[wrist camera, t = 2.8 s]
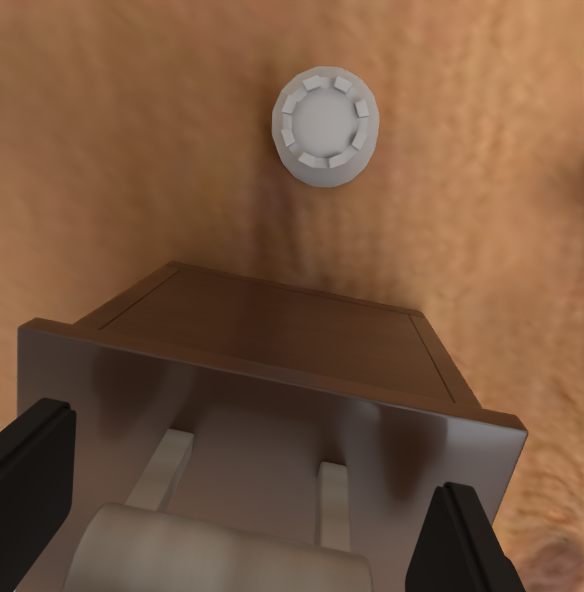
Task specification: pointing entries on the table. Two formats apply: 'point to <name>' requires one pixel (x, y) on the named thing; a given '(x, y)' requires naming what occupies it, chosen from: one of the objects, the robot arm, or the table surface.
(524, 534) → the table surface
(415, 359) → the chest
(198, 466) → the lid
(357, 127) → the rook chess piece
